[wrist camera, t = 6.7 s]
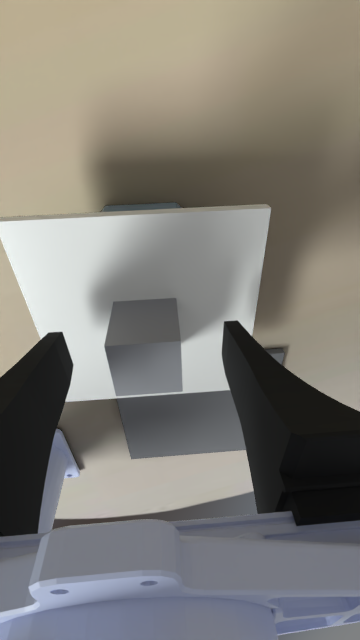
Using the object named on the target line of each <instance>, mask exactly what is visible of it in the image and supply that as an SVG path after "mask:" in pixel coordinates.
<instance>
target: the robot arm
mask: <svg viewBox="0 0 360 640" xmlns="http://www.w3.org/2000/svg"><path fill="white" fill-rule="evenodd" d="M222 360H223V366H224V371H225V375H226V379H227V382H228V385H229V388H230V391H231V394H232V397H233V400H234V404H235V407H236V410H237V413H238V416H239V420H240V423H241V427H242V432H243V437H244V442H245V446H246V451H247V456H248V461H249V467H250V472H251V477H252V483H253V488H254V494H255V500H256V506H257V512H258V514H252V515H242V516H230V517H219V518H208V519H196V520H185V521H173V522H165V521H162V520H150V519H144V520H143V519H142V520H131V521H120V522H109V523H98V524H86V525H75V526H66V527H62V528H56V529H53V530H52V525H53V522H54V518H55V514H56V509H57V505H58V501H59V497H60V493H61V489H62V484H63V480H64V478H73V477H78V476H79V475H80V470H79V468H78V466H77V464H76V461H75V459H74V457H73V455H72V453H71V450H70V448H69V446H68V444H67V442H66V439H65V437H64V435H63V433H62V431H61V430H60V429H56V428H57V425H58V422H59V419H60V416H61V413H62V410H63V407H64V403H65V400H66V397H67V394H68V391H69V387H70V384H71V378H72V372H73V366H74V365H73V362H72V359H71V356H70V353H69V350H68V347H67V344H66V341H65V338H64V335H63V332H49V333H47V334H46V335H45V336H44V337H43V338H42V339H41V340H40V341H39V342H38V343H37V344H36V345H35V346H34V347H33V348H32V349H31V350H30V351H29V352H28V353H27V354H26V355H25V356H24V357H23V358H22V359H21V360H20V361H19V362H17V363H16V364H15V365H14V366H13V367H12V368H11V369H10V370H8V371H7V372H6V373H5V374H4V375H3V376H2V377H1V378H0V640H279V639H278V635H281V634H288V633H294V632H300V631H307V630H313V629H319V628H325V627H332V626H338V625H344V624H351V623H356V622H360V412H359V411H357V410H355V409H353V408H351V407H348V406H346V405H344V404H342V403H340V402H338V401H336V400H335V399H333V398H331V397H329V396H327V395H325V394H324V393H322V392H320V391H318V390H317V389H315V388H314V387H312V386H310V385H309V384H307V383H306V382H304V381H303V380H301V379H300V378H298V377H297V376H295V375H294V374H293V373H291V372H290V371H289V370H287V369H286V368H285V367H284V366H282V365H281V364H280V363H279V362H278V361H277V360H275V359H274V358H273V357H272V356H271V355H270V354H269V353H268V352H267V351H266V350H265V349H264V348H263V347H262V346H261V345H260V344H259V343H258V342H257V341H256V340H255V339H254V338H253V337H252V336H251V335H250V334H249V333H248V331H247V330H246V329H245V328H244V327H243V326H242V325H241V324H240V322H239V321H237V320H236V321H224V327H223V341H222ZM51 530H52V531H51Z"/></svg>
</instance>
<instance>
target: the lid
mask: <svg viewBox="0 0 360 640" xmlns="http://www.w3.org/2000/svg"><path fill="white" fill-rule="evenodd" d="M270 213H271V207H270V206H268V205H267V204H256V205H236V206H216V207H195V208H175V209H155V210H135V211H114V212H94V213H74V214H54V215H33V216H13V217H0V238H1V241H2V243H3V246H4V248H5V251H6V253H7V256H8V258H9V261H10V263H11V266H12V268H13V271H14V273H15V276H16V278H17V281H18V283H19V286H20V288H21V291H22V293H23V296H24V298H25V301H26V303H27V306H28V308H29V311H30V313H31V316H32V318H33V321H34V323H35V326H36V328H37V331H38V333H39V336H40V338H41V339H42V338H43V337H44V336H45V335H46V334H47V333H49V332H63V335H64V338H65V341H66V344H67V347H68V350H69V353H70V356H71V359H72V362H73V365H74V366H73V372H72V378H71V384H70V387H69V391H68V394H67V397H66V400H65V401H66V402H72V401H86V400H100V399H114V398H128V397H141V396H155V395H169V394H183V393H197V392H211V391H224V390H230V388H229V385H228V382H227V379H226V375H225V371H224V366H223V360H222V341H223V327H224V321H236V320H237V321H239V322H240V324H241V325H242V326H243V327H244V328H245V329H246V330H247V331H248V333H249V334H250V335H251V336H252V334H253V327H254V321H255V314H256V307H257V301H258V294H259V287H260V280H261V274H262V267H263V260H264V254H265V247H266V240H267V233H268V227H269V220H270Z"/></svg>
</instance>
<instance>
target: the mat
mask: <svg viewBox="0 0 360 640" xmlns="http://www.w3.org/2000/svg"><path fill="white" fill-rule="evenodd" d="M266 351H267V352H268V353H269V354H270V355H271V356H272V357H273V358H274V359H275V360H277V361H278V362H279V363H280V364H281V365H282V362H283V358H284V351H283V349H282V348H280V349H266ZM117 402H118V406H119V411H120V415H121V419H122V423H123V427H124V431H125V435H126V440H127V444H128V448H129V452H130V456H131V459H138V458H151V457H163V456H175V455H188V454H200V453H213V452H225V451H238V450H246V446H245V442H244V437H243V432H242V427H241V423H240V420H239V416H238V413H237V410H236V407H235V404H234V400H233V397H232V394H231V391H230V390H224V391H211V392H197V393H183V394H169V395H155V396H141V397H128V398H117Z"/></svg>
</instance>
